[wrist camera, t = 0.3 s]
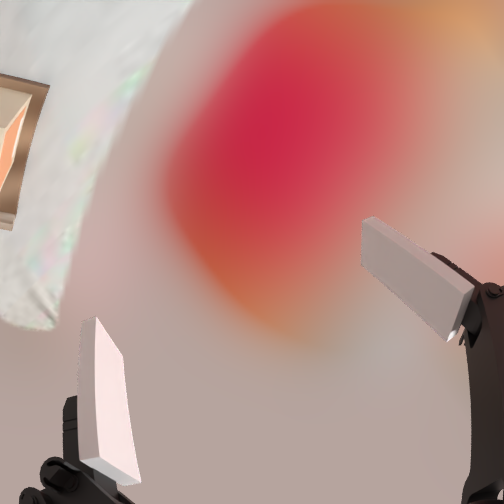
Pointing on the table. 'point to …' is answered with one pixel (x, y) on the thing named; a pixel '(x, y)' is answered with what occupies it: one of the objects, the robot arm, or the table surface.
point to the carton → (10, 126)
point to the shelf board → (20, 146)
